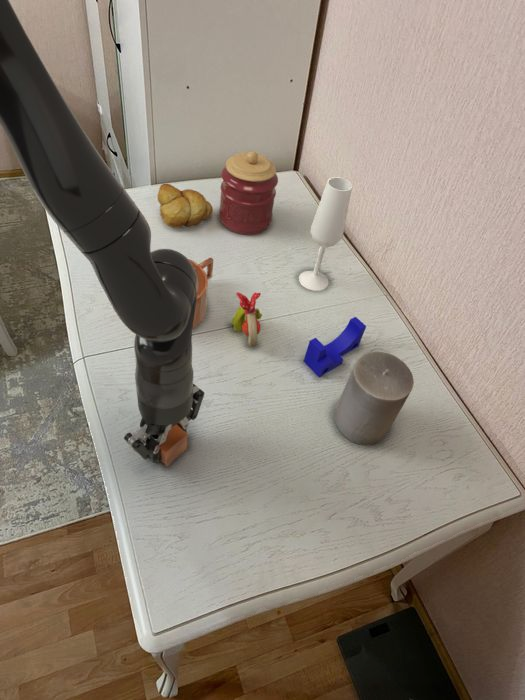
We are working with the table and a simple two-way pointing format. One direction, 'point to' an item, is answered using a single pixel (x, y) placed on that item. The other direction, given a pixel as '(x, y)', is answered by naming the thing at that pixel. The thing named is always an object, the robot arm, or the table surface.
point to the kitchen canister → (247, 193)
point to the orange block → (173, 445)
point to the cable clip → (333, 348)
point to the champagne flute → (328, 227)
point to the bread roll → (182, 206)
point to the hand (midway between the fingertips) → (167, 447)
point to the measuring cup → (202, 288)
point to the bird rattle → (248, 318)
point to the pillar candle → (373, 397)
